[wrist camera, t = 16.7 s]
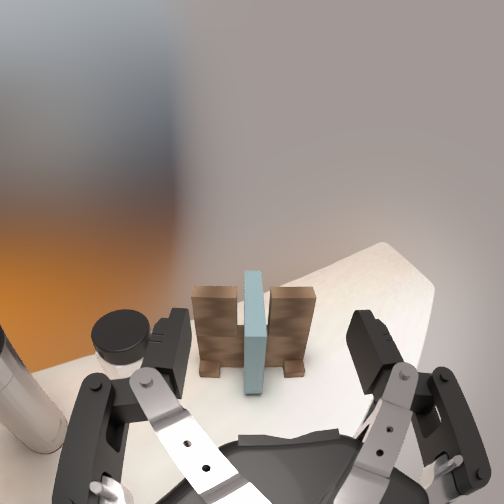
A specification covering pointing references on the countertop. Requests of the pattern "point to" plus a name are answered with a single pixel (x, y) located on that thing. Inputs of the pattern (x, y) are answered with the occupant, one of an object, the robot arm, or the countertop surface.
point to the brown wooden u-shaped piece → (232, 335)
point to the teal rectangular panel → (254, 332)
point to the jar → (121, 342)
